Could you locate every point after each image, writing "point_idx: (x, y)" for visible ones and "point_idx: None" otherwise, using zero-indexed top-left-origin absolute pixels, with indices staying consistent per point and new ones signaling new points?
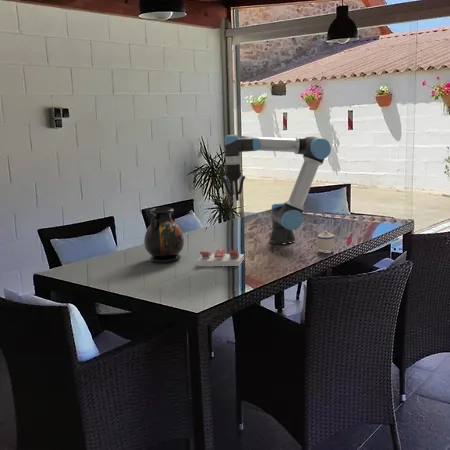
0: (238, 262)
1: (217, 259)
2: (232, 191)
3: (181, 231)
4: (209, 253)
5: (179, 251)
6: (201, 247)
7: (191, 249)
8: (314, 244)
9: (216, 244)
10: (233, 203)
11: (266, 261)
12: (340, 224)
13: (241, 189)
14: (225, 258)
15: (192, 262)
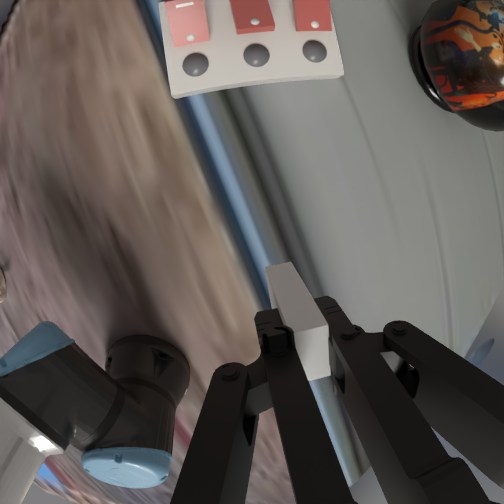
0: (160, 4)
1: None
2: (352, 362)
3: (469, 57)
4: (293, 3)
5: (420, 42)
6: (400, 240)
7: (423, 207)
8: (3, 289)
9: (362, 290)
10: (298, 276)
11: (88, 104)
12: (115, 487)
13: (201, 420)
14: (225, 20)
15: (356, 35)
